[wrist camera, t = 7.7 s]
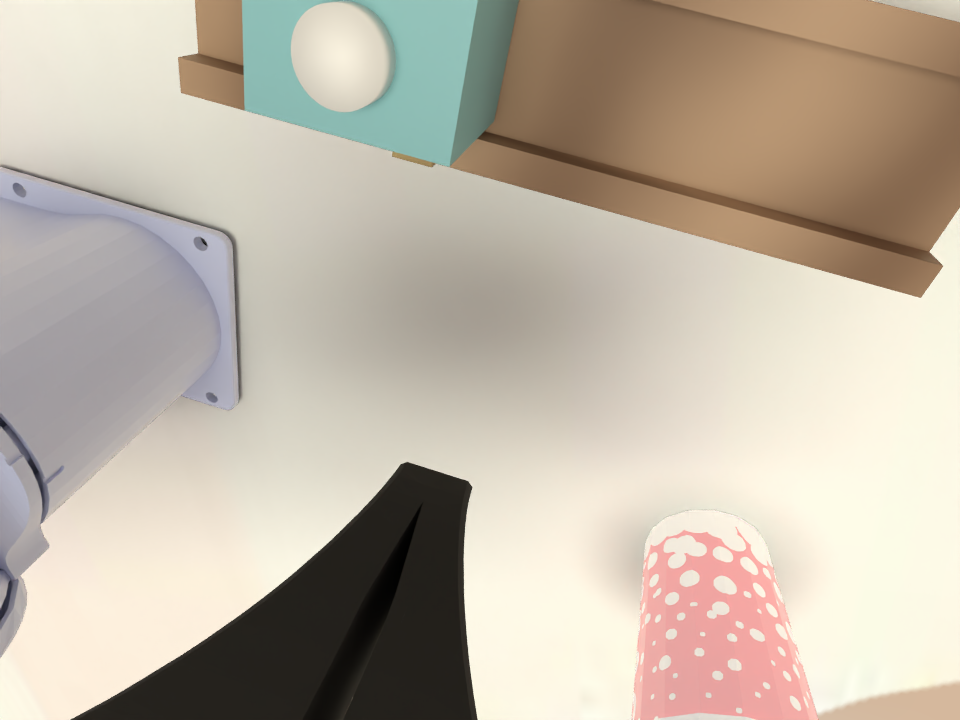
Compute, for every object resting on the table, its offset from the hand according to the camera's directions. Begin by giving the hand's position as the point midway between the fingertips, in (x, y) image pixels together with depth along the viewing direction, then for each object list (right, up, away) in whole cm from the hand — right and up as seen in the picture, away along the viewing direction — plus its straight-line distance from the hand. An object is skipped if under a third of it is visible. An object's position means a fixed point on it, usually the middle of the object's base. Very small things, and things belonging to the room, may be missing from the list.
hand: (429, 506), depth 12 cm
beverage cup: (+10, -5, +13) cm, 17 cm away
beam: (+4, +11, +4) cm, 12 cm away
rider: (0, +10, +2) cm, 10 cm away
